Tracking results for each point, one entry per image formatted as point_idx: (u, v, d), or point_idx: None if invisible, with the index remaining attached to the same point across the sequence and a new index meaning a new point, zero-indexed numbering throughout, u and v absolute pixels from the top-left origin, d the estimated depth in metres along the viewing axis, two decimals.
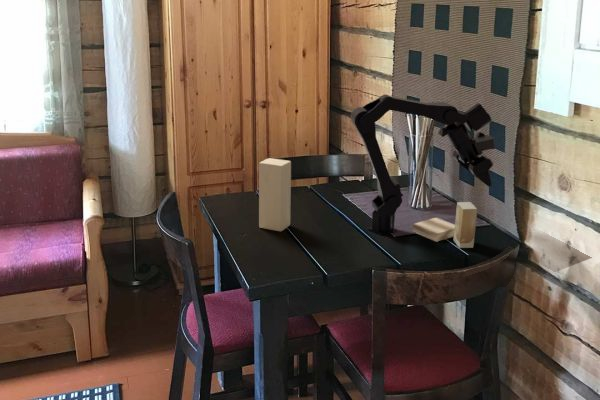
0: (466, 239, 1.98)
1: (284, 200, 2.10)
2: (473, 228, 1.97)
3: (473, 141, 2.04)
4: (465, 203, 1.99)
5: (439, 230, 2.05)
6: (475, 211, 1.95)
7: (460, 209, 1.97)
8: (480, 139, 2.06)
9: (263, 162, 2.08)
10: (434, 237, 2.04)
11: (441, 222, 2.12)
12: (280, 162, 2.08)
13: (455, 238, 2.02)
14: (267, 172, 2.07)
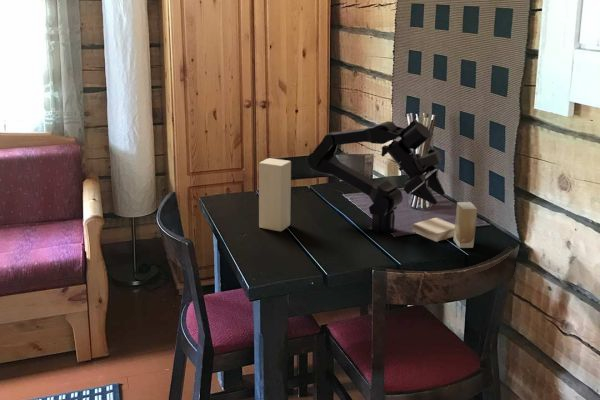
0: (466, 239, 1.98)
1: (284, 200, 2.10)
2: (473, 228, 1.97)
3: (412, 158, 1.98)
4: (465, 203, 1.99)
5: (439, 230, 2.05)
6: (475, 211, 1.95)
7: (460, 209, 1.97)
8: (425, 156, 1.99)
9: (263, 162, 2.08)
10: (434, 237, 2.04)
11: (441, 222, 2.12)
12: (280, 162, 2.08)
13: (455, 238, 2.02)
14: (267, 172, 2.07)
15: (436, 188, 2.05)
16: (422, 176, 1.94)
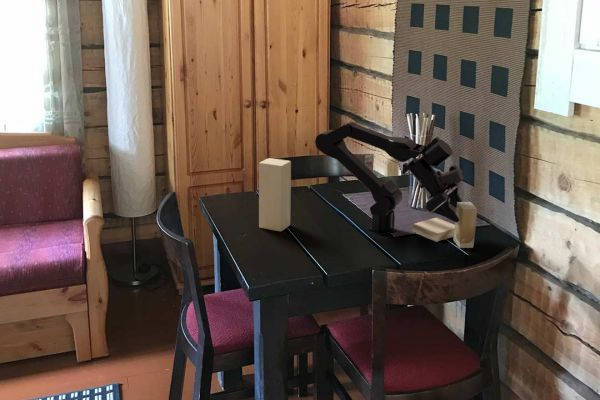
0: (466, 239, 1.98)
1: (284, 200, 2.10)
2: (473, 228, 1.97)
3: (434, 176, 1.97)
4: (465, 203, 1.99)
5: (439, 230, 2.05)
6: (475, 211, 1.95)
7: (460, 209, 1.97)
8: (446, 173, 1.98)
9: (263, 162, 2.08)
10: (434, 237, 2.04)
11: (441, 222, 2.12)
12: (280, 162, 2.08)
13: (455, 238, 2.02)
14: (267, 172, 2.07)
15: None
16: (444, 194, 1.93)
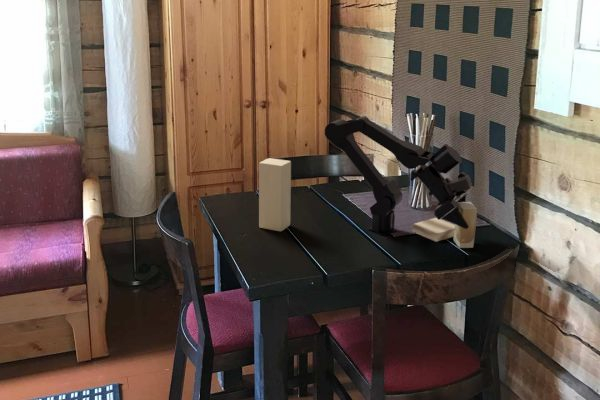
0: (466, 239, 1.98)
1: (284, 200, 2.10)
2: (473, 228, 1.97)
3: (443, 183, 1.97)
4: (465, 203, 1.99)
5: (439, 230, 2.05)
6: (475, 211, 1.95)
7: (460, 209, 1.97)
8: (455, 180, 1.97)
9: (263, 162, 2.08)
10: (434, 237, 2.04)
11: (441, 222, 2.12)
12: (280, 162, 2.08)
13: (455, 238, 2.02)
14: (267, 172, 2.07)
15: None
16: (453, 202, 1.92)
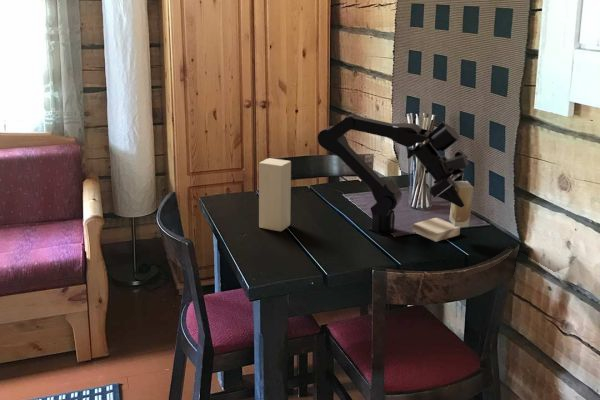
0: (462, 218, 1.98)
1: (284, 200, 2.10)
2: (469, 207, 1.97)
3: (439, 161, 1.96)
4: (461, 182, 1.99)
5: (439, 230, 2.05)
6: (471, 190, 1.95)
7: (456, 187, 1.97)
8: (452, 159, 1.97)
9: (263, 162, 2.08)
10: (434, 237, 2.04)
11: (441, 222, 2.12)
12: (280, 162, 2.08)
13: (451, 217, 2.02)
14: (267, 172, 2.07)
15: None
16: (449, 179, 1.92)
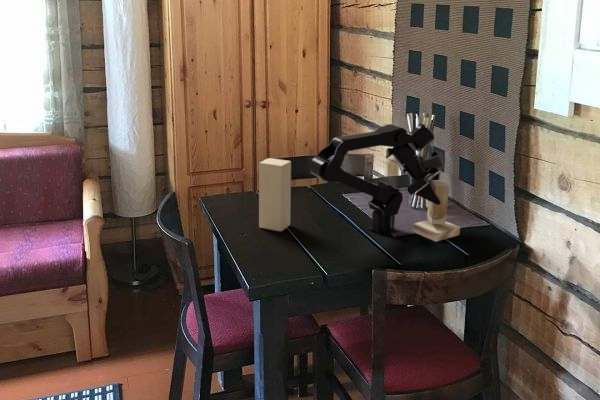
0: (438, 215, 2.05)
1: (284, 200, 2.10)
2: (445, 205, 2.04)
3: (416, 161, 2.04)
4: (438, 181, 2.07)
5: (439, 230, 2.05)
6: (447, 188, 2.03)
7: (433, 186, 2.04)
8: (428, 158, 2.04)
9: (263, 162, 2.08)
10: (434, 237, 2.04)
11: None
12: (280, 162, 2.08)
13: (428, 215, 2.09)
14: (267, 172, 2.07)
15: None
16: (426, 178, 1.99)
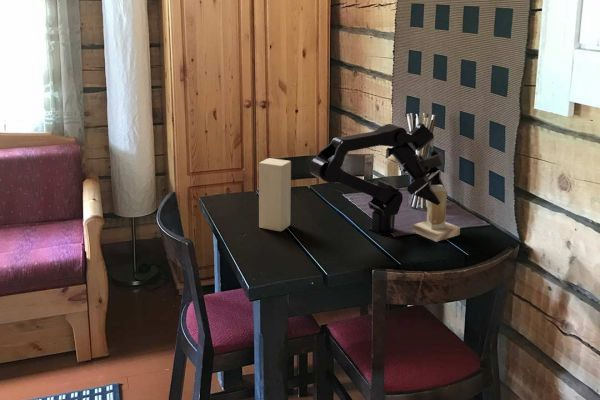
0: (438, 220, 2.06)
1: (284, 200, 2.10)
2: (444, 209, 2.05)
3: (416, 160, 2.04)
4: (436, 186, 2.07)
5: (439, 231, 2.05)
6: (445, 193, 2.03)
7: None
8: (428, 157, 2.04)
9: (263, 162, 2.08)
10: (434, 238, 2.04)
11: None
12: (280, 162, 2.08)
13: (428, 220, 2.10)
14: (267, 172, 2.07)
15: None
16: (425, 177, 1.99)
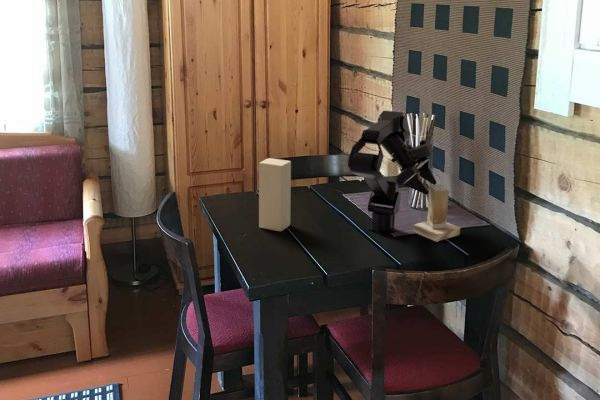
0: (439, 220, 2.06)
1: (284, 200, 2.10)
2: (445, 209, 2.05)
3: (404, 150, 2.05)
4: (437, 185, 2.08)
5: (439, 231, 2.05)
6: (447, 192, 2.04)
7: (432, 191, 2.05)
8: (416, 147, 2.05)
9: (263, 162, 2.08)
10: (434, 238, 2.04)
11: None
12: (280, 162, 2.08)
13: (428, 220, 2.10)
14: (267, 172, 2.07)
15: (428, 177, 2.12)
16: (414, 168, 2.01)
